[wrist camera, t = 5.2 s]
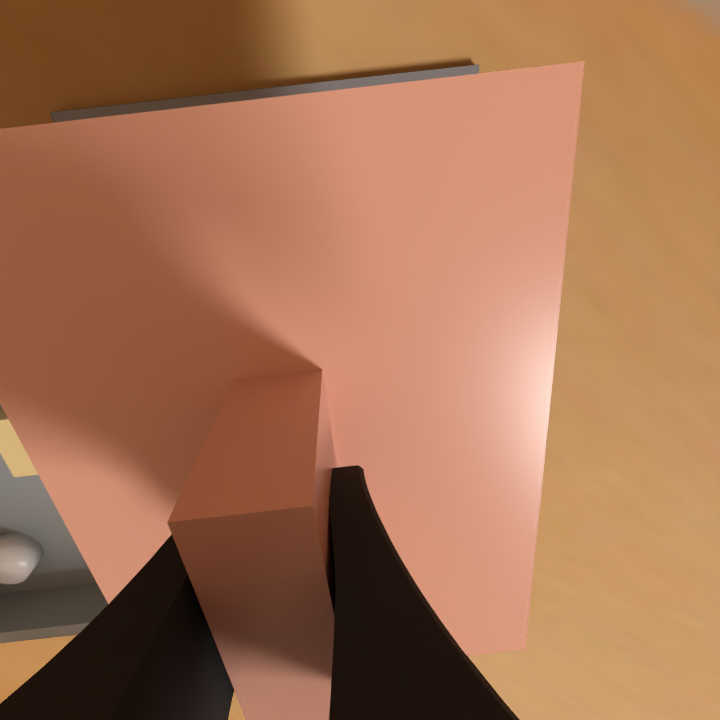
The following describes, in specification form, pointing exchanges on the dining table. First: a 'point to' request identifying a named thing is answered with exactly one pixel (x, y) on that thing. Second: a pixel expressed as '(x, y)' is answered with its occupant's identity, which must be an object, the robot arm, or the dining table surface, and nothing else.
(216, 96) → the mat
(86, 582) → the tub
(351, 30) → the dining table surface
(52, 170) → the lid
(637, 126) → the dining table surface
